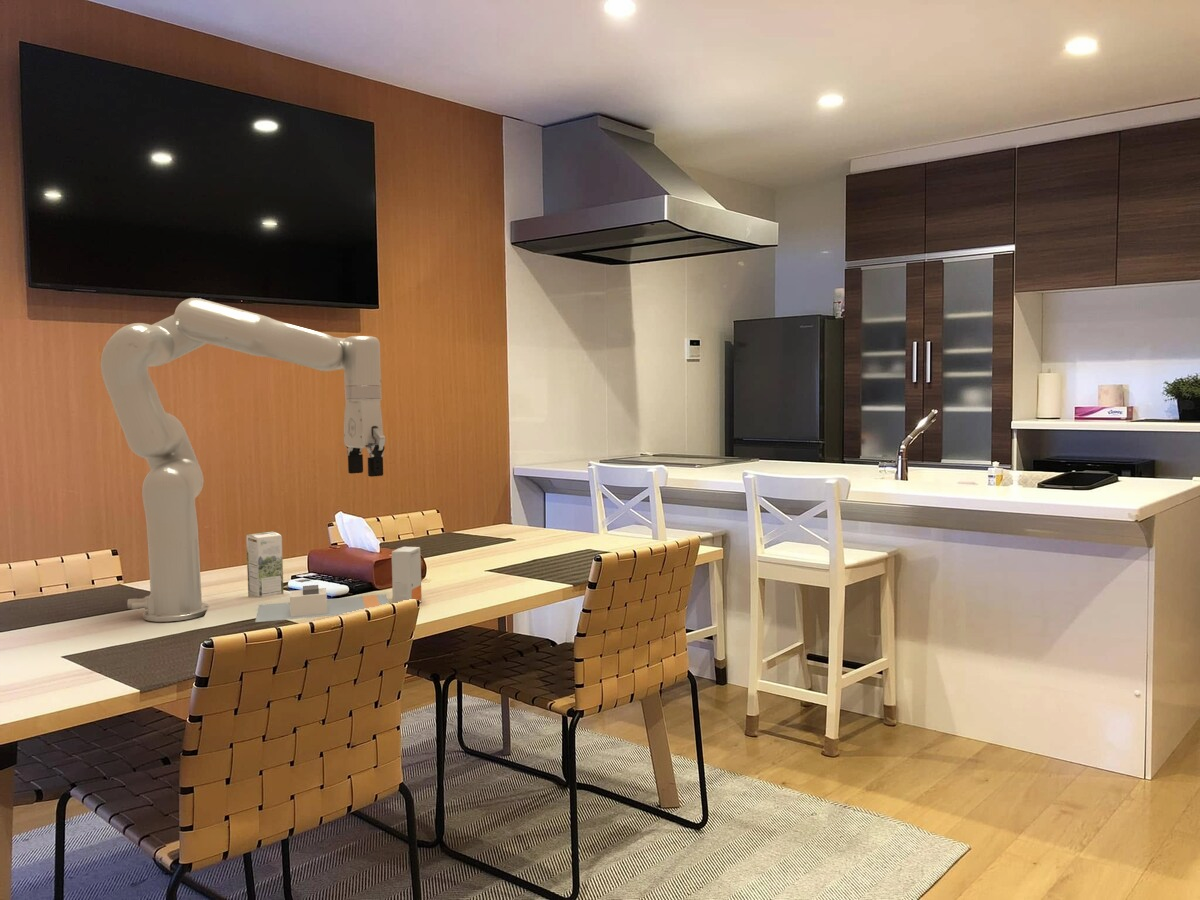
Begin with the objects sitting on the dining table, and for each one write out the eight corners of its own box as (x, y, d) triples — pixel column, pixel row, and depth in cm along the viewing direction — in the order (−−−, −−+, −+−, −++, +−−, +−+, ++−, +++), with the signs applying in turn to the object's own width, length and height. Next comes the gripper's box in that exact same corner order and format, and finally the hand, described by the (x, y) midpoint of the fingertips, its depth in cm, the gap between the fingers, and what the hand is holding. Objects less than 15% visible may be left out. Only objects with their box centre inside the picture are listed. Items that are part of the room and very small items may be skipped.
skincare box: (411, 608, 193) (409, 551, 192) (392, 607, 194) (390, 551, 193) (422, 601, 199) (420, 546, 198) (404, 601, 199) (402, 546, 199)
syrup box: (272, 594, 209) (270, 530, 208) (284, 598, 204) (281, 533, 203) (248, 598, 205) (245, 533, 204) (259, 602, 200) (256, 536, 199)
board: (255, 628, 179) (255, 622, 179) (259, 610, 193) (258, 604, 193) (392, 615, 187) (392, 609, 187) (386, 599, 201) (385, 594, 201)
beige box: (290, 617, 182) (289, 592, 182) (291, 610, 188) (289, 586, 188) (327, 613, 184) (326, 589, 184) (326, 607, 190) (325, 583, 190)
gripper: (329, 394, 201) (332, 473, 202) (364, 394, 187) (366, 478, 188) (362, 394, 205) (364, 470, 207) (398, 394, 192) (400, 476, 193)
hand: (365, 474), depth 198 cm, fingers open, 9 cm apart
